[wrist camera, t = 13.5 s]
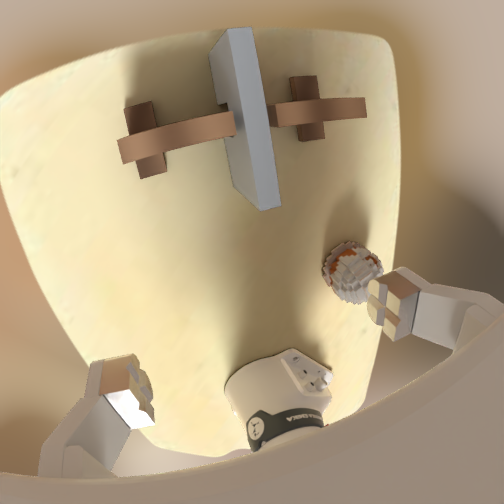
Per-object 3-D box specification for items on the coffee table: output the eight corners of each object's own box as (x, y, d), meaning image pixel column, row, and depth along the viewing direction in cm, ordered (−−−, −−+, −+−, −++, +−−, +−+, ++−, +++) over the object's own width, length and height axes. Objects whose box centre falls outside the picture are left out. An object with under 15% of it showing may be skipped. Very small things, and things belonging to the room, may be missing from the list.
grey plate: (208, 54, 27) (227, 28, 18) (225, 51, 27) (251, 26, 18) (233, 186, 34) (260, 211, 26) (249, 182, 35) (281, 205, 26)
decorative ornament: (368, 266, 46) (429, 316, 33) (331, 294, 46) (386, 354, 33) (354, 230, 42) (424, 278, 29) (313, 260, 42) (374, 322, 29)
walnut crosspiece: (311, 76, 31) (360, 67, 22) (320, 137, 35) (369, 147, 26) (124, 109, 27) (109, 104, 18) (141, 177, 31) (133, 200, 22)
